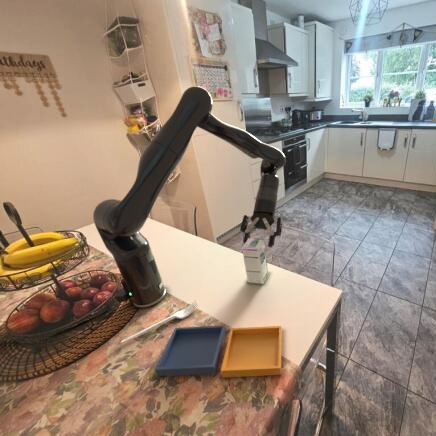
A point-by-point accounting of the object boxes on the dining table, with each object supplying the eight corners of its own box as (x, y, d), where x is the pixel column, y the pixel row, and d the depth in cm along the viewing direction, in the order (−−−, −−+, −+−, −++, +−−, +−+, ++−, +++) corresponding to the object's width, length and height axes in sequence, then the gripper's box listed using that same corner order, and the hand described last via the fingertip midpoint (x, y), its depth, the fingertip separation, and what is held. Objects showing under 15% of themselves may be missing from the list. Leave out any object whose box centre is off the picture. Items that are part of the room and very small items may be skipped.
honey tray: (222, 377, 55) (220, 371, 54) (232, 334, 65) (230, 328, 64) (281, 374, 55) (280, 368, 54) (281, 332, 65) (281, 325, 64)
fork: (121, 340, 64) (118, 335, 64) (196, 303, 75) (195, 299, 74) (122, 349, 62) (119, 344, 61) (200, 310, 73) (198, 305, 72)
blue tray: (157, 376, 55) (154, 369, 54) (177, 333, 66) (175, 327, 64) (215, 373, 56) (213, 366, 54) (226, 331, 66) (224, 325, 65)
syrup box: (263, 284, 82) (259, 248, 75) (247, 282, 83) (241, 246, 76) (268, 273, 87) (264, 238, 80) (252, 272, 88) (247, 237, 82)
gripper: (287, 207, 89) (280, 250, 85) (251, 204, 93) (242, 246, 88) (282, 198, 82) (275, 245, 78) (243, 196, 86) (234, 241, 81)
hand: (257, 246), depth 83 cm, fingers open, 8 cm apart
